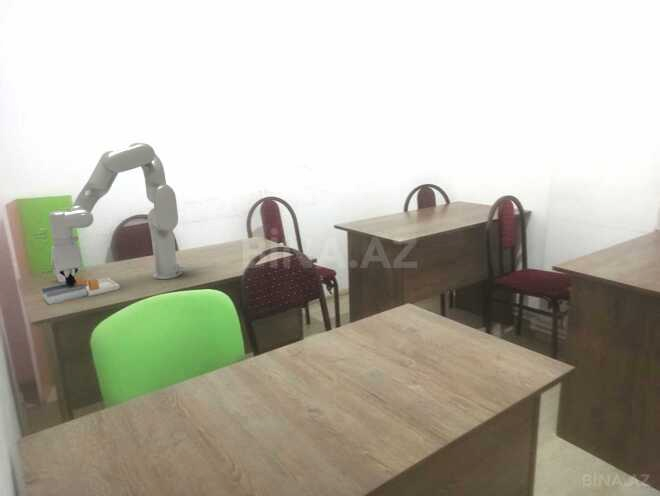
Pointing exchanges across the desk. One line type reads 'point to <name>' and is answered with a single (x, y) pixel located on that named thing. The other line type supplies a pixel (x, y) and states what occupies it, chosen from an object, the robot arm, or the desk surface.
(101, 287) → the tray
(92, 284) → the orange square block
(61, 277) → the smoothie
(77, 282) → the chip
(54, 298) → the slot block
